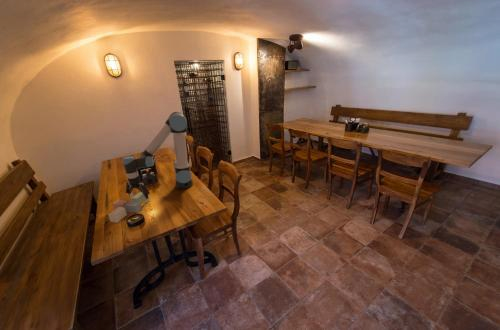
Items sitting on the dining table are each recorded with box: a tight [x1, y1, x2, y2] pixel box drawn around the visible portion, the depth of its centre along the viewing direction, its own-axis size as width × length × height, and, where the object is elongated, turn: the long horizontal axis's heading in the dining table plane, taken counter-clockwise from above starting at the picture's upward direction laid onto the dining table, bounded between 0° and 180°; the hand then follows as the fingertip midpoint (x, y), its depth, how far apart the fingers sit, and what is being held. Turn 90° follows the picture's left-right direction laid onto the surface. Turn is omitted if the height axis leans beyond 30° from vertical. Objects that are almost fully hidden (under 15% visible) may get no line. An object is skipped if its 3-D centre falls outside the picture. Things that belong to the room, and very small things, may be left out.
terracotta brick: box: [111, 199, 129, 211], centre depth 151 cm, size 9×5×6 cm, turn 77°
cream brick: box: [107, 207, 128, 224], centre depth 141 cm, size 5×9×6 cm, turn 167°
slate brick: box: [125, 200, 143, 214], centre depth 149 cm, size 9×5×6 cm, turn 79°
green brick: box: [132, 191, 145, 204], centre depth 160 cm, size 5×9×6 cm, turn 167°
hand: (140, 201), depth 161 cm, fingers open, 12 cm apart
